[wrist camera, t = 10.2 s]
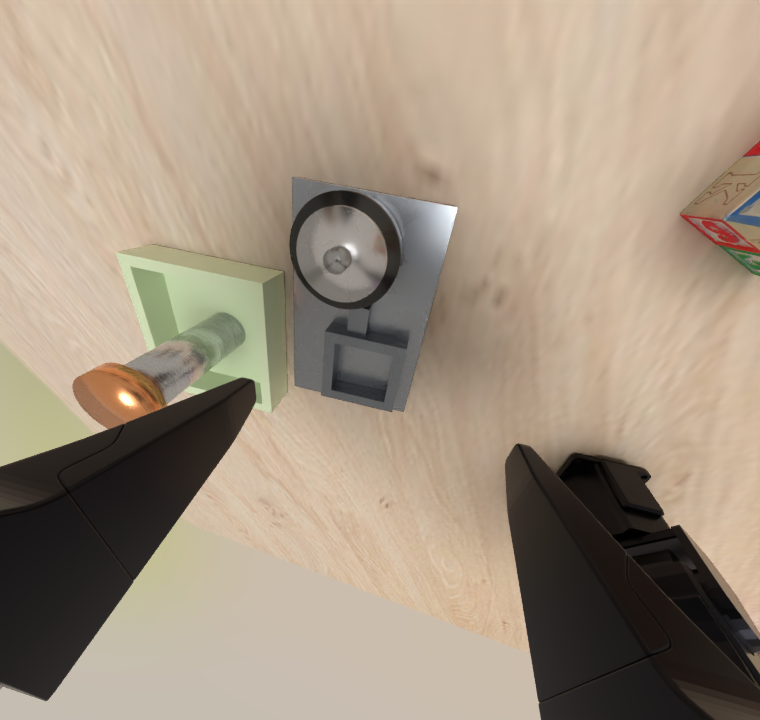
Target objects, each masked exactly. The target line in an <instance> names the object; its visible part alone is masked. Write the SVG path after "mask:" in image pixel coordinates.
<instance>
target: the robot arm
mask: <svg viewBox="0 0 760 720" xmlns="http://www.w3.org/2000/svg"><path fill="white" fill-rule="evenodd" d="M255 403H256V388H255V382H254V380H252V379H248V378H244V377H241V378H238V379H236V380H233V381H231V382H228V383H225V384H223V385H220V386H218V387H215V388H213V389H210V390H208V391H205V392H203V393H200V394H197V395H195V396H192V397H190V398H187V399H185V400H182V401H180V402H177V403H175V404H172V405H169V406H167V407H164V408H162V409H159V410H157V411H154V412H152V413H149V414H146V415H144V416H141V417H139V418H136V419H134V420H131V421H129V422H126V424H121V425H118V426H116V427H113V428H111V429H108V430H105V431H103V432H100V433H97V434H95V435H92V436H89V437H87V438H84V439H81V440H78V441H75V442H73V443H70V444H67V445H64V446H61V447H58V448H55V449H52V450H50V451H46V452H44V453H40V454H37V455H34V456H31V457H28V458H25V459H22V460H19V461H16V462H13V463H10V464H7V465H4V466H1V467H0V689H1V688H2V687H6V688H9V689H12V690H15V691H18V692H20V693H23V694H26V695H29V696H32V697H35V698H38V699H41V700H44V701H47V700H48V699H49V698H50V697H51V696H52V695H53V693H54V692H55V691H56V689H57V688H58V687H59V685H60V684H61V683H62V681H63V679H64V678H65V677H66V676H67V674H68V673H69V671H70V670H71V669H72V667H73V666H74V664H75V663H76V661H77V660H78V659H79V657H80V656H81V655H82V653H83V652H84V650H85V649H86V648H87V646H88V645H89V643H90V642H91V641H92V639H93V638H94V636H95V635H96V634H97V632H98V631H99V629H100V628H101V627H102V625H103V624H104V622H105V621H106V620H107V618H108V617H109V616H110V614H111V613H112V611H113V610H114V608H115V607H116V606H117V604H118V603H119V601H120V600H121V599H122V597H123V596H124V594H125V593H126V592H127V590H128V589H129V588H130V586H131V585H132V583H133V580H134V579H136V577H137V576H138V575H139V573H140V572H141V570H142V569H143V568H144V566H145V565H146V564H147V562H148V560H149V559H150V558H151V556H152V555H153V554H154V552H155V551H156V550H157V548H158V547H159V545H160V544H161V542H162V541H163V540H164V538H165V537H166V536H167V534H168V533H169V531H170V530H171V529H172V527H173V526H174V524H175V523H176V522H177V520H178V519H179V517H180V516H181V515H182V513H183V512H184V510H185V509H186V508H187V506H188V505H189V503H190V502H191V501H192V499H193V498H194V496H195V495H196V494H197V492H198V491H199V490H200V488H201V487H202V485H203V484H204V483H205V481H206V480H207V478H208V477H209V476H210V474H211V473H212V471H213V470H214V469H215V467H216V466H217V464H218V463H219V462H220V460H221V459H222V457H223V456H224V455H225V453H226V452H227V450H228V449H229V448H230V446H231V445H232V443H233V442H234V440H235V439H236V437H237V435H238V433H239V432H240V430H241V428H242V426H243V425H244V423H245V421H246V419H247V417H248V416H249V414H250V412H251V410H252V409H253V407H254V405H255ZM505 474H506V494H507V511H508V518H509V525H510V531H511V537H512V543H513V549H514V555H515V561H516V568H517V574H518V580H519V586H520V592H521V598H522V604H523V610H524V617H525V623H526V629H527V635H528V641H529V647H530V653H531V658H532V665H533V672H534V678H535V684H536V690H537V696H538V701H539V702H540V703H539V710H540V716H541V720H760V657H759V656H758V654H760V633H759V631H758V630H757V628H756V626H755V625H754V623H753V622H752V620H751V618H750V617H749V615H748V613H747V612H746V610H745V609H744V607H743V605H742V604H741V602H740V601H739V599H738V597H737V596H736V594H735V593H734V592H733V590H732V589H731V588H730V586H729V585H728V584H727V582H726V581H725V580H724V578H723V577H722V575H721V574H720V573H719V571H718V570H717V569H716V567H715V566H714V565H713V563H712V562H711V561H710V559H709V558H708V557H707V556H706V554H705V553H704V552H703V551H702V550H701V549H700V548H699V546H698V545H697V544H696V543H695V542H694V541H693V540H692V538H691V537H690V536H689V535H688V534H687V533H686V532H685V530H684V529H683V528H682V527H681V526H680V525H676V526H672V527H671V529H670V527H669V526H668V524H667V523H666V522H665V520H664V519H663V517H662V516H663V515H664V512H663V510H662V508H661V507H660V505H659V504H658V502H657V501H656V500H655V498H654V497H653V495H652V494H651V492H650V491H649V489H648V488H647V486H646V485H645V483H646V482H647V481H648V480H649V479H650V478H651V475H650V474H649V473H648V471H646V470H643V469H639V468H635V467H631V466H627V465H622V464H618V463H614V462H610V461H606V460H602V459H597V458H593V457H589V456H585V455H581V454H574V455H572V456H571V457H570V458H569V459H568V461H567V462H566V463H565V465H564V466H563V467H562V468H561V470H560V471H559V472H558V474H557V475H556V474H555V473H554V472H553V471H552V469H551V468H550V467H549V466H548V465H547V464H546V463H545V462H544V461H543V460H542V458H541V457H540V456H539V455H538V454H537V453H536V452H535V451H534V450H533V449H532V448H531V447H530V446H527V445H523V444H516V445H515V446H514V447H513V449H512V451H511V452H510V454H509V456H508V457H507V459H506V463H505ZM757 653H758V654H757Z"/></svg>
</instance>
